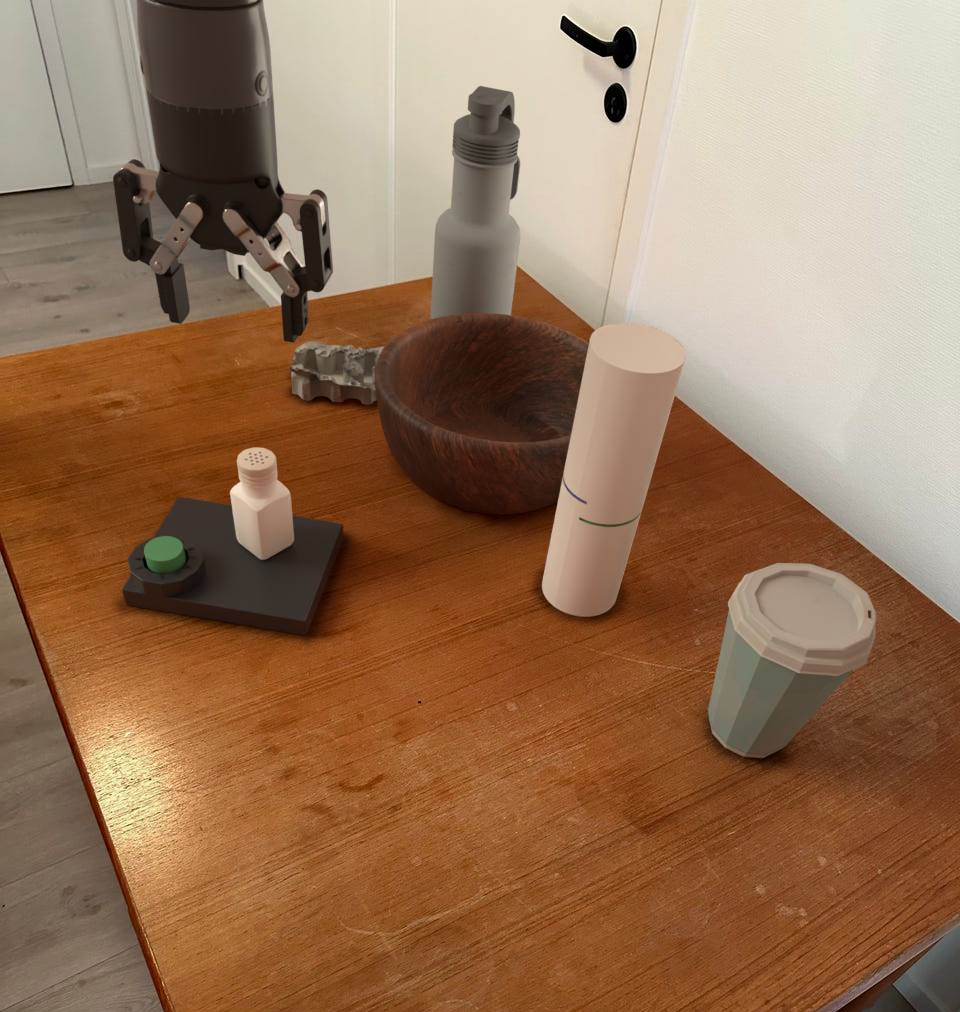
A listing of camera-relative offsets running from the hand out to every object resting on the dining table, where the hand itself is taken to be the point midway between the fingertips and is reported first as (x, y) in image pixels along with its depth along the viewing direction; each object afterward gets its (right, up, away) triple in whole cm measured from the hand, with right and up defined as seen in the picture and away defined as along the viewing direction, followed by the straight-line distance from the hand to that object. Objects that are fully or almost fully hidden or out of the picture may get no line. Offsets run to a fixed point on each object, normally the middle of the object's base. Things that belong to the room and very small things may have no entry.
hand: (236, 327), depth 66 cm
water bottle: (+17, +14, +46) cm, 51 cm away
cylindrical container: (+27, -19, +18) cm, 38 cm away
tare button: (-9, -16, +11) cm, 22 cm away
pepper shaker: (-2, -15, +15) cm, 21 cm away
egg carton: (+2, +6, +37) cm, 38 cm away
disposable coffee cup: (+40, -30, +9) cm, 51 cm away
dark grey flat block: (-4, -17, +15) cm, 23 cm away
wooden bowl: (+19, -4, +30) cm, 36 cm away
